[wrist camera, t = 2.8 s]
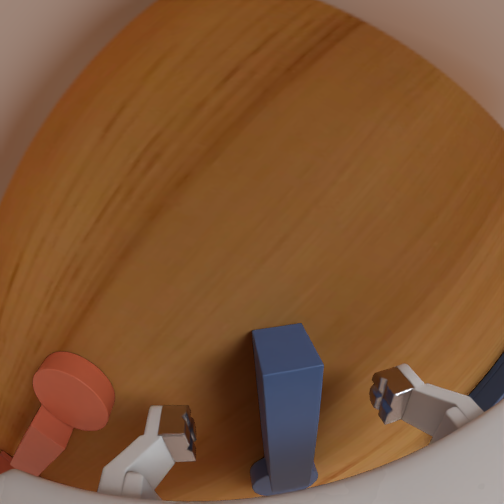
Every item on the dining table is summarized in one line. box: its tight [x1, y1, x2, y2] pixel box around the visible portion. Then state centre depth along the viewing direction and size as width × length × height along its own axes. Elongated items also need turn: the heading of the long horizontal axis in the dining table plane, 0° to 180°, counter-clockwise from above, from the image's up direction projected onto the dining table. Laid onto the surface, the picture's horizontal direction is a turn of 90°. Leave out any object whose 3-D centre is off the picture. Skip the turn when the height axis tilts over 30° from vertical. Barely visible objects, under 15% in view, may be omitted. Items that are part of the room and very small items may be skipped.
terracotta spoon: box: [10, 352, 115, 476], centre depth 10 cm, size 13×4×3 cm, turn 136°
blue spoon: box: [250, 323, 324, 496], centre depth 12 cm, size 13×4×3 cm, turn 5°
